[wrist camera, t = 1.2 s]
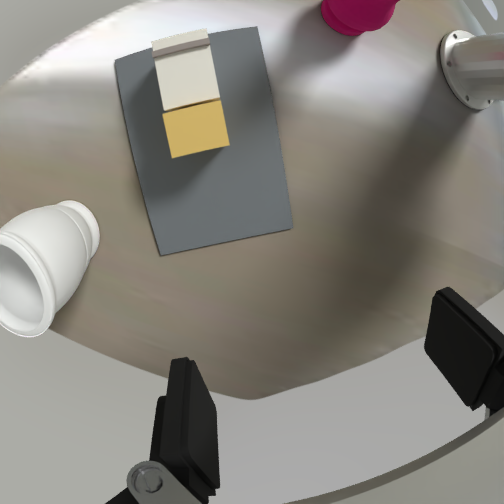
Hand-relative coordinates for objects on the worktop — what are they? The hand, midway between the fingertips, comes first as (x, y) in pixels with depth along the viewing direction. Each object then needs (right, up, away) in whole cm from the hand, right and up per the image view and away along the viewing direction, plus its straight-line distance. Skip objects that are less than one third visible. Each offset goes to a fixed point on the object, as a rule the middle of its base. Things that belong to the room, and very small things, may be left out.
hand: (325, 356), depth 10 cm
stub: (-8, +17, +19) cm, 27 cm away
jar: (-25, +6, +23) cm, 35 cm away
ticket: (-9, +22, +17) cm, 29 cm away
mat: (-8, +16, +20) cm, 27 cm away
